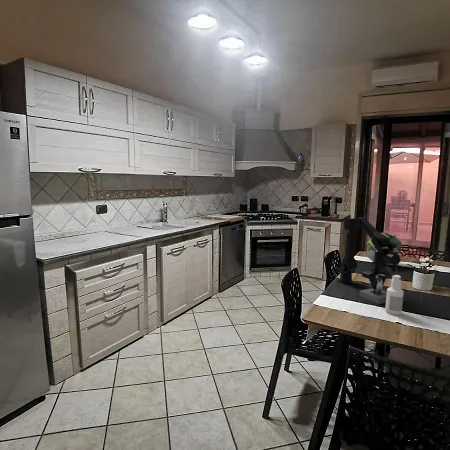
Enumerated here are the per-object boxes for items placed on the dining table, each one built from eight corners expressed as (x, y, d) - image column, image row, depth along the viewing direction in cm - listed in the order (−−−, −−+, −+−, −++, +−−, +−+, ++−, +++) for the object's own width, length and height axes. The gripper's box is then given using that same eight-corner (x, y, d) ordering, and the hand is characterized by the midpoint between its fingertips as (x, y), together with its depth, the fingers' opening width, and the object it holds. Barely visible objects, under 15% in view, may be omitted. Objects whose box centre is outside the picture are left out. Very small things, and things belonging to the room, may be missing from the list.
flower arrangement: (367, 259, 247) (369, 229, 244) (402, 264, 233) (406, 232, 229) (359, 266, 227) (362, 233, 224) (398, 272, 213) (401, 237, 209)
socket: (359, 295, 168) (359, 290, 168) (375, 292, 173) (375, 287, 173) (378, 304, 157) (378, 298, 157) (394, 300, 162) (395, 295, 162)
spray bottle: (395, 316, 143) (399, 279, 140) (382, 311, 149) (385, 274, 146) (404, 313, 146) (408, 277, 144) (391, 308, 152) (394, 273, 150)
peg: (371, 292, 166) (372, 277, 165) (376, 291, 168) (377, 276, 166) (377, 294, 162) (379, 279, 161) (383, 293, 164) (384, 279, 163)
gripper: (380, 266, 151) (377, 296, 154) (406, 262, 159) (403, 291, 161) (362, 260, 161) (359, 289, 164) (387, 257, 169) (384, 285, 171)
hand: (377, 289), depth 165 cm, fingers closed on peg, 4 cm apart
